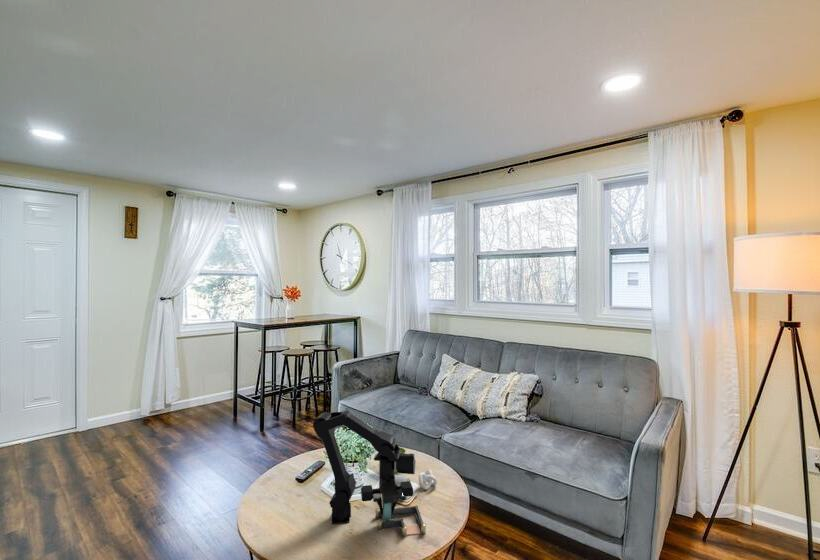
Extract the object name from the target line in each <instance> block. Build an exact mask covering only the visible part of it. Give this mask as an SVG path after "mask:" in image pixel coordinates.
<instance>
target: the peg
mask: <svg viewBox="0 0 820 560" xmlns="http://www.w3.org/2000/svg"><path fill="white" fill-rule="evenodd" d="M382 508H383V518H382V521H388V520H392V517H391V503H387V504H385V503H383V502H382Z"/></svg>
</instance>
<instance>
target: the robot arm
mask: <svg viewBox="0 0 820 560" xmlns="http://www.w3.org/2000/svg"><path fill="white" fill-rule="evenodd" d="M340 426H344V427H346V428H347V429H349V430H350V431H352V432H353V433H355V434H357V435H358V436H360V438H363V439H364V440H366V441H367V442H368V443H370V444H371V446H372V447H373V449H374V450H375V451H376V452H377V453H376V454H375V455H374V458H373V461H376V462H377V461H378V467H379V468H378V469H379V472H378V474H379V475H378V477H379V478H378V479H379V480H378V485H379V486H378V487H379V488H373V485H372V484H368V485H362V486H361V487H360V496H361V502H371V501H373V502H374V503H376V504H377V505H378V508H379V509H380V511H381V514H382V515H383V503H385V504H387V503H391V514H393V511H394V508H396V505H397V503H398V501H399V500H402V499H403V497H402V492H403V495H404V496H405V498H407V497H408V498H409V497H413V496H414V487H413V485H412V482H411V480H410V481H406V482H401V483H400V485H396V483H395V475H396V473H398V474H406V475H415V474H416V473H415V472H416V457H415V453H405V454H401V449H400V448H399V447H400V446H399V445H398V444H397V441H396V438H395V436H393V435H391V434H389V433H387V432H384V431H381V430H377V429H376V428H374V427H372V426H371V425H369V424H368V423H366V422H365V421H363V420H361V419H360V418H358V417H357V416H356V415H354V414H352V413H351V412H350V411H349V410H343V411H333V412H327V411H324V412H322V413H320V414H319V416H317V418H315V420H314V421H313V423H312V427H313V430H314V432H315V434H316V436H317V437H318V438H319V439H320V440H321V441H322V443H323V445H324V449H325V453H326V456H327V458H328V461H329V464H330V468H331V470H332V475H333V477H334V493H333V494H332V497H331V498H330V500H329V506H330V508H331V524H332V525H336V524H337V525H338V524H344V523H345V524H346V523H350V522H351V521H350V520H351V519H350V518H351V516H352V506H351V505H352V504H351V502H350V500H351V499H352V497H353V494H354V492H355V490H356V485H357V481H356V479H355V475H354V473H353V472H352V473H349V472H348V471H347V469H346V467H345V463H344V460H343V457H342V454H341V451H340V448H339V445H338V441H337V439H336V436H335V435H336V433H335V430H336V429H335V428H337V427H340ZM393 451H394V452H393ZM395 462H396V470H397V472H395Z"/></svg>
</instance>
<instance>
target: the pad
mask: <svg viewBox="0 0 820 560" xmlns="http://www.w3.org/2000/svg"><path fill="white" fill-rule="evenodd" d="M404 525H405V524H404ZM405 526H406V527H407V536H413V535H420V534H421V528H420V525H419V523H415V524H407V525H405ZM421 535H422V534H421Z"/></svg>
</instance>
